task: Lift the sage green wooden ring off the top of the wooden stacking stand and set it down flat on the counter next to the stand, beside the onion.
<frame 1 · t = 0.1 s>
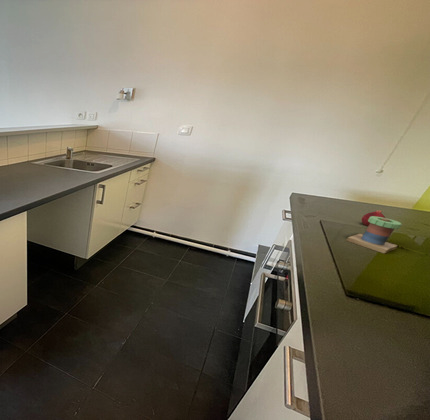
stand: (370, 244, 86), on the counter
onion: (368, 228, 100), on the counter
ring: (382, 224, 82), point 8 cm above the counter, touching stand
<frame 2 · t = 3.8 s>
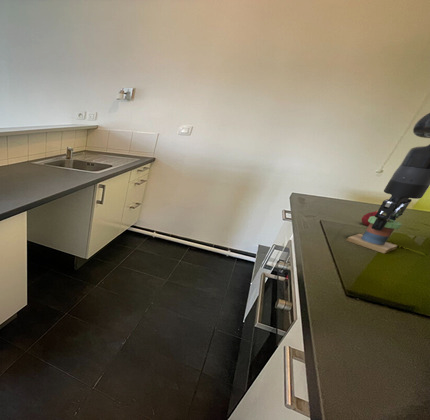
hand: (380, 228, 83), 7 cm above the counter, tool pointing down, fingers closed on ring, 6 cm apart
ring: (382, 224, 82), point 8 cm above the counter, touching gripper, stand
everything else where it was.
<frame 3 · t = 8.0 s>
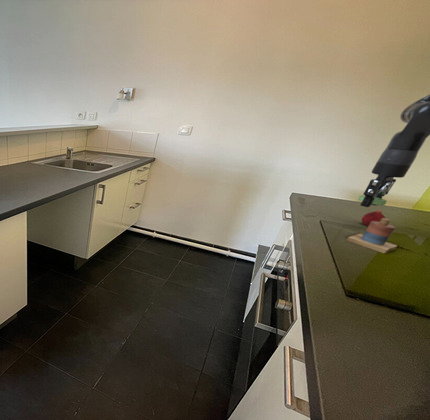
hand: (368, 205, 93), 11 cm above the counter, tool pointing down, fingers closed on ring, 6 cm apart
ring: (370, 202, 93), point 12 cm above the counter, touching gripper
everything else where it was.
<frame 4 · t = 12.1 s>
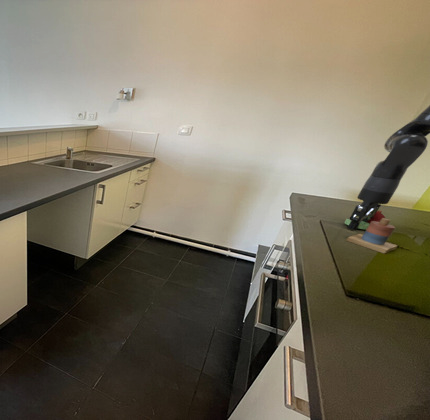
hand: (355, 229, 97), 0 cm above the counter, tool pointing down, fingers closed on ring, 6 cm apart
ring: (356, 225, 96), point 2 cm above the counter, touching gripper
everything else where it was.
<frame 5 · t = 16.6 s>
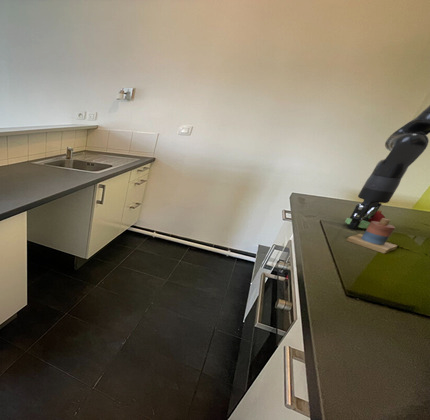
hand: (355, 228, 97), 1 cm above the counter, tool pointing down, fingers closed on ring, 6 cm apart
ring: (357, 224, 96), point 2 cm above the counter, touching gripper
everything else where it was.
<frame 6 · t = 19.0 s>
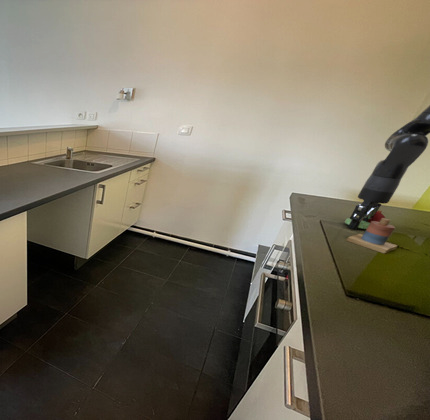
hand: (355, 228, 97), 1 cm above the counter, tool pointing down, fingers closed on ring, 6 cm apart
ring: (357, 225, 96), point 2 cm above the counter, touching gripper
everything else where it was.
when the fingers open (1 cm above the counter, at t = 20.9 s): ring drops 3 cm, on the counter.
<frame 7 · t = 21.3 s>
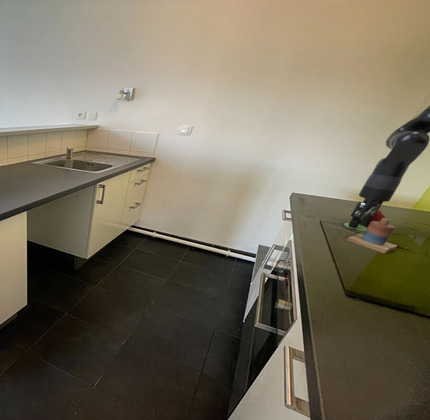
hand: (357, 225, 96), 2 cm above the counter, tool pointing down, fingers open, 8 cm apart
ring: (354, 230, 97), on the counter
everything else where it was.
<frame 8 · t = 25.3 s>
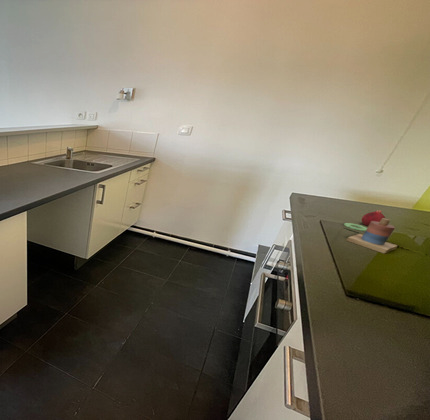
nothing on the counter moved.
at the end: ring inside the target area (0.0 cm from its centre), on the counter; ring tilted 0°; ring touching counter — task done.
